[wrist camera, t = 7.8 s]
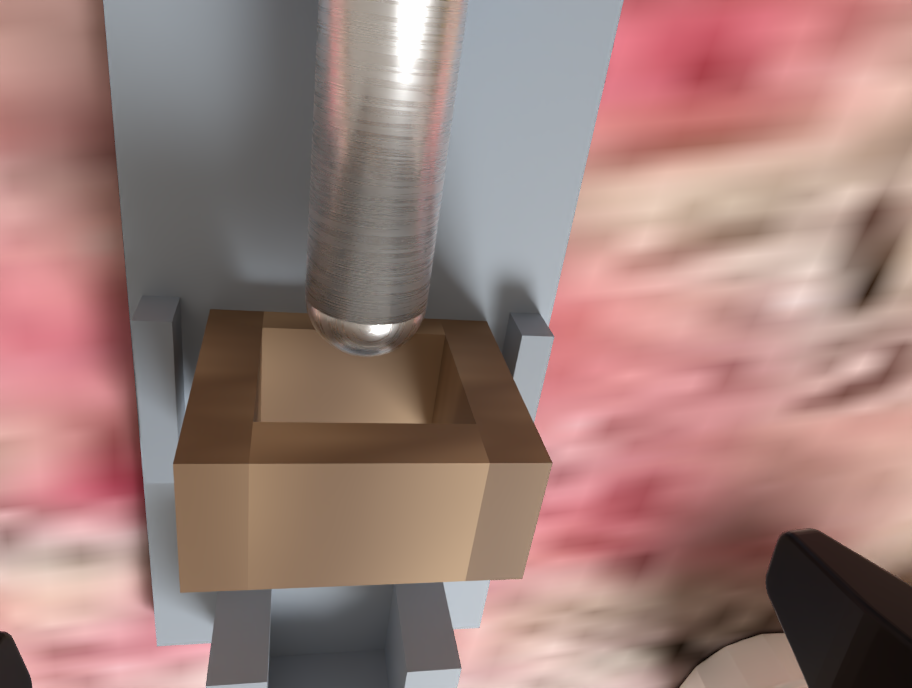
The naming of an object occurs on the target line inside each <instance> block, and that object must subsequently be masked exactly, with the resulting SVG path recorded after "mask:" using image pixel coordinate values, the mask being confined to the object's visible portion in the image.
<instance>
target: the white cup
mask: <svg viewBox="0 0 912 688" xmlns="http://www.w3.org/2000/svg"><path fill="white" fill-rule="evenodd" d="M679 688H808V686H807V684H806V681H805V679H804V677H803V674H802V672H801V670H800V668H799V665H798V663H797V661H796V658H795V656H794V654H793V652H792V649H791V647H790V645H789V642H788V640H787V638H786V635H785V633H771V634H760V635H757V636H754V637H751V638H748V639H745V640H741V641H739V642H736V643H734V644H731V645H728V646H726V647H724V648H722V649H721V650H719V651H718V652H716V653H715V654H713V655H712V656H710V657H709V658H707V659H706V660H705V661H703V662H702V663H700V664H699V665H698V666H696V667H695V668H694V670H693V671H692V672H691V673H690V675H689V676H688V677H687V678H686V680H685V681H684V682H683V684H682V685H681V686H680V687H679Z"/></svg>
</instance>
